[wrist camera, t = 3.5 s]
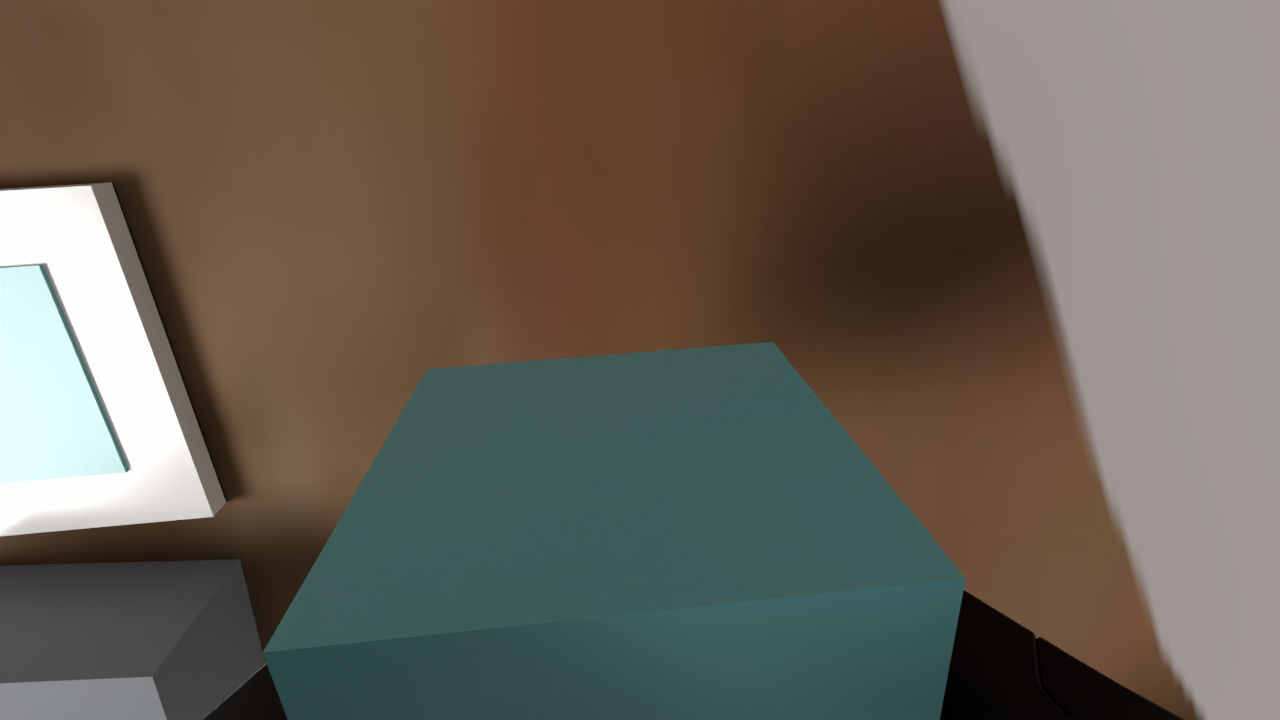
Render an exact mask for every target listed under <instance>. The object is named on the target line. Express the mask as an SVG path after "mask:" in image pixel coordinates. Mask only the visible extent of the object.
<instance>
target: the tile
mask: <svg viewBox="0 0 1280 720" xmlns="http://www.w3.org/2000/svg"><path fill="white" fill-rule="evenodd" d="M225 503H226V501H225V498H224V495H223V492H222V490H221V487H220V484H219V481H218V478H217V476H216V473H215V470H214V467H213V465H212V462H211V459H210V456H209V453H208V451H207V448H206V445H205V442H204V439H203V437H202V434H201V431H200V428H199V425H198V423H197V420H196V417H195V414H194V411H193V409H192V406H191V403H190V400H189V397H188V395H187V392H186V389H185V386H184V383H183V381H182V378H181V375H180V372H179V369H178V367H177V364H176V361H175V358H174V356H173V353H172V350H171V347H170V344H169V342H168V339H167V336H166V333H165V330H164V328H163V325H162V322H161V319H160V316H159V314H158V311H157V308H156V305H155V302H154V300H153V297H152V294H151V291H150V288H149V286H148V283H147V280H146V277H145V274H144V272H143V269H142V266H141V263H140V261H139V258H138V255H137V252H136V249H135V247H134V244H133V241H132V238H131V235H130V233H129V230H128V227H127V224H126V221H125V219H124V216H123V213H122V210H121V207H120V205H119V202H118V199H117V196H116V193H115V191H114V188H113V185H112V182H107V183H90V184H73V185H56V186H39V187H22V188H5V189H0V536H9V535H20V534H31V533H42V532H53V531H64V530H75V529H86V528H97V527H108V526H119V525H130V524H140V523H151V522H162V521H173V520H184V519H195V518H206V517H214V516H215V515H216V514H217V512H218V511H219V510H220V509H221V508H222V507H223V506H224V505H225Z"/></svg>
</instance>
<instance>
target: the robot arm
mask: <svg viewBox="0 0 1280 720" xmlns="http://www.w3.org/2000/svg"><path fill="white" fill-rule="evenodd" d="M201 720H288V719H287V717H286V714H285V711H284V708H283V706H282V703H281V700H280V698H279V695H278V692H277V690H276V687H275V684H274V682H273V679H272V676H271V674H270V671H269V668H268V666H267V663H265V664H264V665H263V666H262V667H261V668H260V669H258V670H257V671H256V672H255V673H254V674H253V675H252V676H250V677H249V678H248V679H247V680H246V681H245V682H244V683H242V684H241V685H240V686H239V687H238V688H237V689H236V690H234V691H233V692H232V693H231V694H230V695H229V696H227V697H226V698H225V699H224V700H223V701H222V702H221V703H219V704H218V705H217V706H216V707H215V708H214V709H213V710H211V711H210V712H209V713H208V714H207V715H206V716H205V717H203V718H202V719H201ZM940 720H1184V719H1182V718H1181V717H1179V716H1177V715H1175V714H1173V713H1171V712H1170V711H1168V710H1166V709H1164V708H1162V707H1160V706H1159V705H1157V704H1155V703H1153V702H1151V701H1149V700H1148V699H1146V698H1144V697H1142V696H1140V695H1139V694H1137V693H1135V692H1133V691H1131V690H1129V689H1128V688H1126V687H1124V686H1122V685H1120V684H1119V683H1117V682H1115V681H1113V680H1112V679H1110V678H1108V677H1107V676H1105V675H1103V674H1102V673H1100V672H1098V671H1096V670H1095V669H1093V668H1091V667H1090V666H1088V665H1086V664H1085V663H1083V662H1081V661H1079V660H1078V659H1076V658H1074V657H1073V656H1071V655H1069V654H1068V653H1066V652H1064V651H1063V650H1061V649H1060V648H1058V647H1056V646H1055V645H1053V644H1051V643H1050V642H1048V641H1047V640H1045V639H1043V638H1041V637H1038V638H1037V639H1036V636H1035V634H1034V633H1033V632H1031V631H1030V630H1028V629H1027V628H1025V627H1023V626H1022V625H1020V624H1018V623H1017V622H1015V621H1013V620H1012V619H1010V618H1009V617H1007V616H1005V615H1004V614H1002V613H1000V612H999V611H997V610H996V609H994V608H992V607H991V606H989V605H987V604H986V603H984V602H982V601H981V600H979V599H978V598H976V597H974V596H973V595H971V594H969V593H968V592H966V591H965V590H963V595H962V601H961V606H960V612H959V617H958V623H957V628H956V633H955V639H954V644H953V650H952V655H951V661H950V666H949V671H948V677H947V682H946V688H945V693H944V699H943V704H942V710H941V715H940Z"/></svg>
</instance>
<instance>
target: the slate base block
mask: <svg viewBox="0 0 1280 720" xmlns="http://www.w3.org/2000/svg"><path fill="white" fill-rule="evenodd" d="M264 664H265V660H264V656H263V651H262V647H261V643H260V639H259V635H258V631H257V627H256V623H255V619H254V615H253V611H252V607H251V603H250V598H249V594H248V590H247V586H246V582H245V578H244V574H243V570H242V566H241V562H240V559H230V560H191V561H153V562H114V563H76V564H37V565H0V720H201V719H202V718H203V717H205V716H206V715H207V714H208V713H209V712H210V711H211V710H213V709H214V708H215V707H216V706H217V705H218V704H219V703H221V702H222V701H223V700H224V699H225V698H226V697H227V696H229V695H230V694H231V693H232V692H233V691H234V690H236V689H237V688H238V687H239V686H240V685H241V684H242V683H244V682H245V681H246V680H247V679H248V678H249V677H250V676H252V675H253V674H254V673H255V672H256V671H257V670H258V669H260V668H261V667H262V666H263V665H264Z"/></svg>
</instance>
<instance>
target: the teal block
mask: <svg viewBox="0 0 1280 720" xmlns="http://www.w3.org/2000/svg"><path fill="white" fill-rule="evenodd" d="M965 579H966V578H965V577H964V576H963V574H962V573H961V572H960V571H959V570H958V568H957V567H956V566H955V565H954V563H953V562H952V561H951V560H950V558H949V557H948V556H947V555H946V554H945V552H944V551H943V550H942V549H941V547H940V546H939V545H938V544H937V543H936V541H935V540H934V539H933V538H932V536H931V535H930V534H929V533H928V531H927V530H926V529H925V528H924V527H923V525H922V524H921V523H920V522H919V520H918V519H917V518H916V517H915V516H914V514H913V513H912V512H911V511H910V509H909V508H908V507H907V506H906V504H905V503H904V502H903V501H902V500H901V498H900V497H899V496H898V495H897V493H896V492H895V491H894V490H893V489H892V487H891V486H890V485H889V484H888V482H887V481H886V480H885V479H884V478H883V476H882V475H881V474H880V473H879V471H878V470H877V469H876V468H875V466H874V465H873V464H872V463H871V462H870V460H869V459H868V458H867V457H866V455H865V454H864V453H863V452H862V451H861V449H860V448H859V447H858V446H857V444H856V443H855V442H854V441H853V439H852V438H851V437H850V436H849V435H848V433H847V432H846V431H845V430H844V428H843V427H842V426H841V425H840V424H839V422H838V421H837V420H836V419H835V417H834V416H833V415H832V414H831V412H830V411H829V410H828V409H827V408H826V406H825V405H824V404H823V403H822V401H821V400H820V399H819V398H818V397H817V395H816V394H815V393H814V392H813V390H812V389H811V388H810V387H809V385H808V384H807V383H806V382H805V381H804V379H803V378H802V377H801V376H800V374H799V373H798V372H797V371H796V370H795V368H794V367H793V366H792V365H791V363H790V362H789V361H788V360H787V358H786V357H785V356H784V355H783V354H782V352H781V351H780V350H779V349H778V347H777V346H776V345H775V344H774V343H773V342H764V343H751V344H739V345H726V346H714V347H701V348H689V349H676V350H664V351H651V352H638V353H626V354H613V355H601V356H588V357H576V358H563V359H551V360H538V361H526V362H513V363H501V364H488V365H476V366H463V367H450V368H438V369H427V370H426V372H425V374H424V376H423V377H422V379H421V381H420V383H419V384H418V386H417V388H416V389H415V391H414V393H413V395H412V396H411V398H410V400H409V401H408V403H407V405H406V407H405V408H404V410H403V412H402V414H401V415H400V417H399V419H398V420H397V422H396V424H395V426H394V427H393V429H392V431H391V432H390V434H389V436H388V438H387V439H386V441H385V443H384V445H383V446H382V448H381V450H380V451H379V453H378V455H377V457H376V458H375V460H374V462H373V463H372V465H371V467H370V469H369V470H368V472H367V474H366V475H365V477H364V479H363V481H362V482H361V484H360V486H359V488H358V489H357V491H356V493H355V494H354V496H353V498H352V500H351V501H350V503H349V505H348V506H347V508H346V510H345V512H344V513H343V515H342V517H341V519H340V520H339V522H338V524H337V525H336V527H335V529H334V531H333V532H332V534H331V536H330V537H329V539H328V541H327V543H326V544H325V546H324V548H323V550H322V551H321V553H320V555H319V556H318V558H317V560H316V562H315V563H314V565H313V567H312V568H311V570H310V572H309V574H308V575H307V577H306V579H305V581H304V582H303V584H302V586H301V587H300V589H299V591H298V593H297V594H296V596H295V598H294V599H293V601H292V603H291V605H290V606H289V608H288V610H287V612H286V613H285V615H284V617H283V618H282V620H281V622H280V624H279V625H278V627H277V629H276V630H275V632H274V634H273V636H272V637H271V639H270V641H269V642H268V644H267V646H266V648H265V649H264V651H263V655H264V658H265V660H266V663H267V666H268V668H269V671H270V674H271V676H272V679H273V682H274V684H275V687H276V690H277V692H278V695H279V698H280V700H281V703H282V706H283V708H284V711H285V714H286V717H287V719H288V720H940V715H941V710H942V704H943V699H944V693H945V688H946V682H947V677H948V671H949V666H950V661H951V655H952V650H953V644H954V639H955V633H956V628H957V623H958V617H959V612H960V606H961V601H962V595H963V590H964V585H965Z"/></svg>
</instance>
